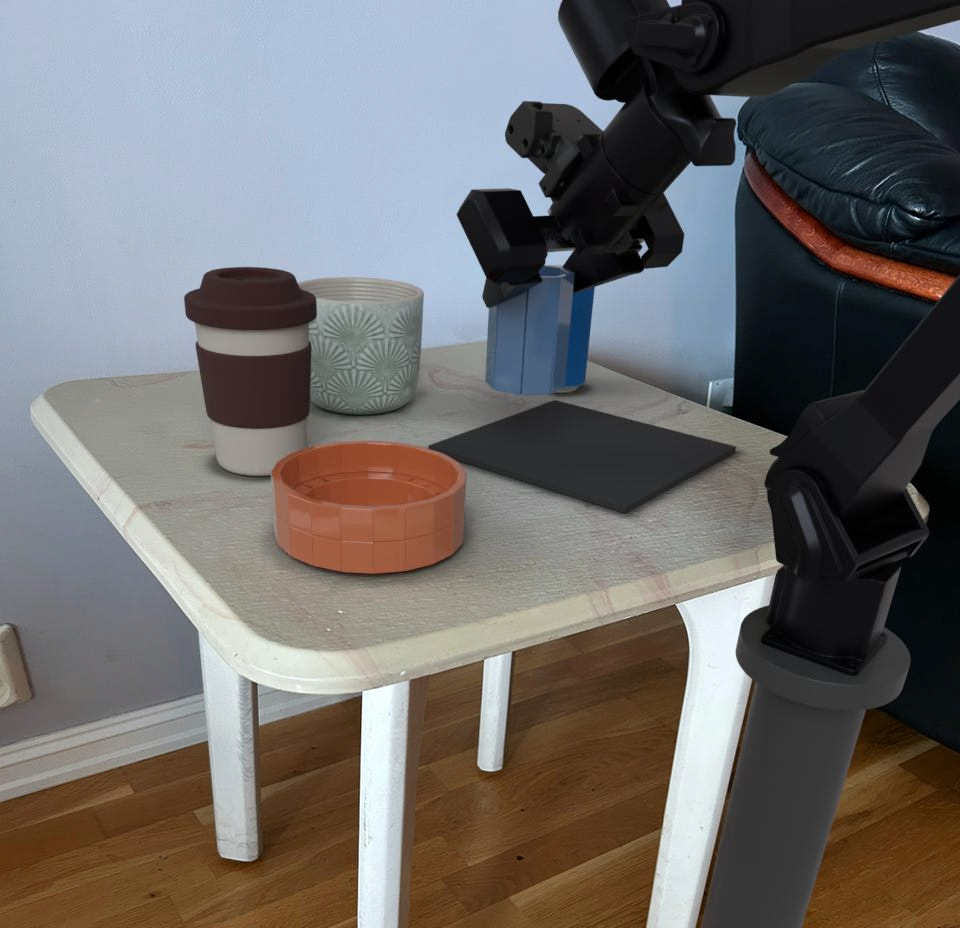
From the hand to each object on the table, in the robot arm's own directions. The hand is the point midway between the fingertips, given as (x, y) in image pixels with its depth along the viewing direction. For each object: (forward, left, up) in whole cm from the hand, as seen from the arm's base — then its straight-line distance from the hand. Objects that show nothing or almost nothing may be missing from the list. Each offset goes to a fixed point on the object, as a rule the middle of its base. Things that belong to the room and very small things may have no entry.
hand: (519, 298), depth 79 cm
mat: (-4, -6, -13) cm, 15 cm away
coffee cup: (+14, +16, -14) cm, 25 cm away
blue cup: (-1, 0, -7) cm, 7 cm away
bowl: (-3, +21, -13) cm, 25 cm away
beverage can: (+10, -22, -14) cm, 28 cm away
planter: (+20, -2, -14) cm, 24 cm away
